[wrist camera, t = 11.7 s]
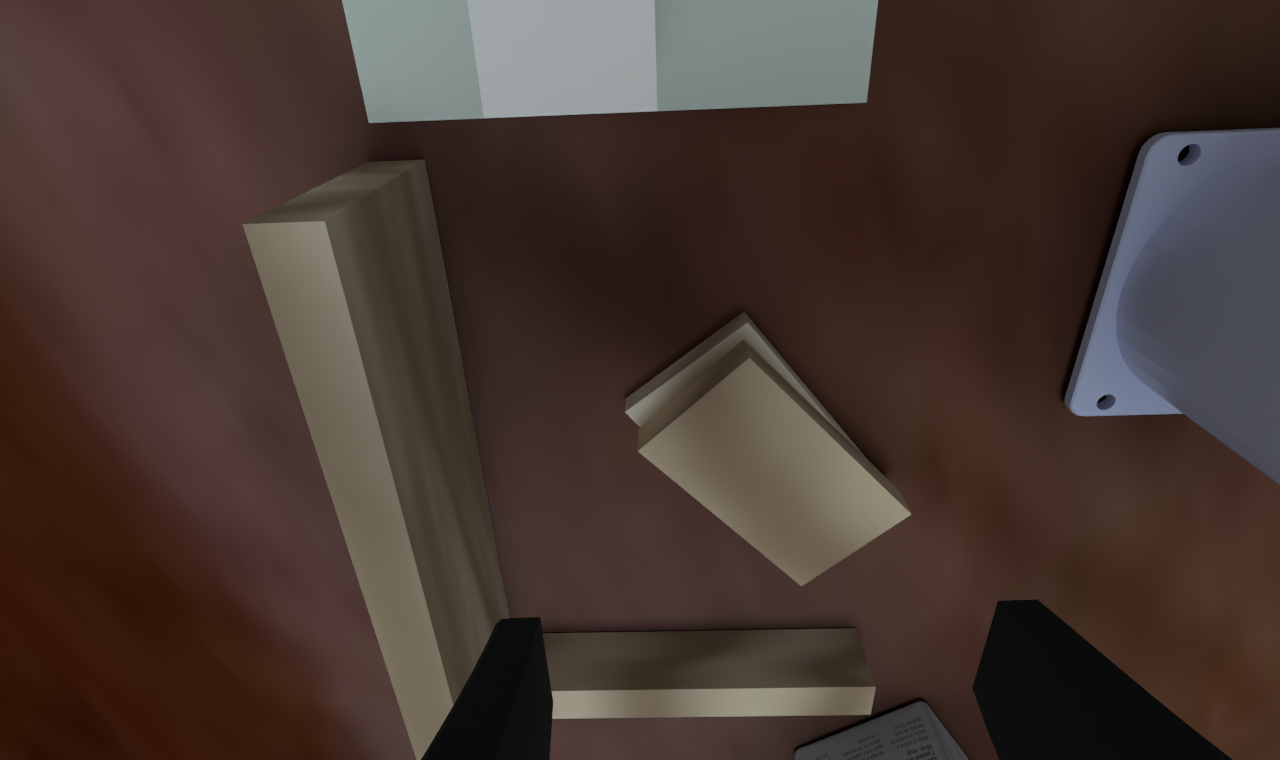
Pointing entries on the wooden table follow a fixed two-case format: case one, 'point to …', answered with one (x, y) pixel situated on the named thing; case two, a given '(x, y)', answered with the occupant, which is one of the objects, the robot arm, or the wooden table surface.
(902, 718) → the coffee box
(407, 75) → the mat
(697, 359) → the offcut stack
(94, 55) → the wooden table surface
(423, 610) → the corner fence
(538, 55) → the gray rectangular slab
